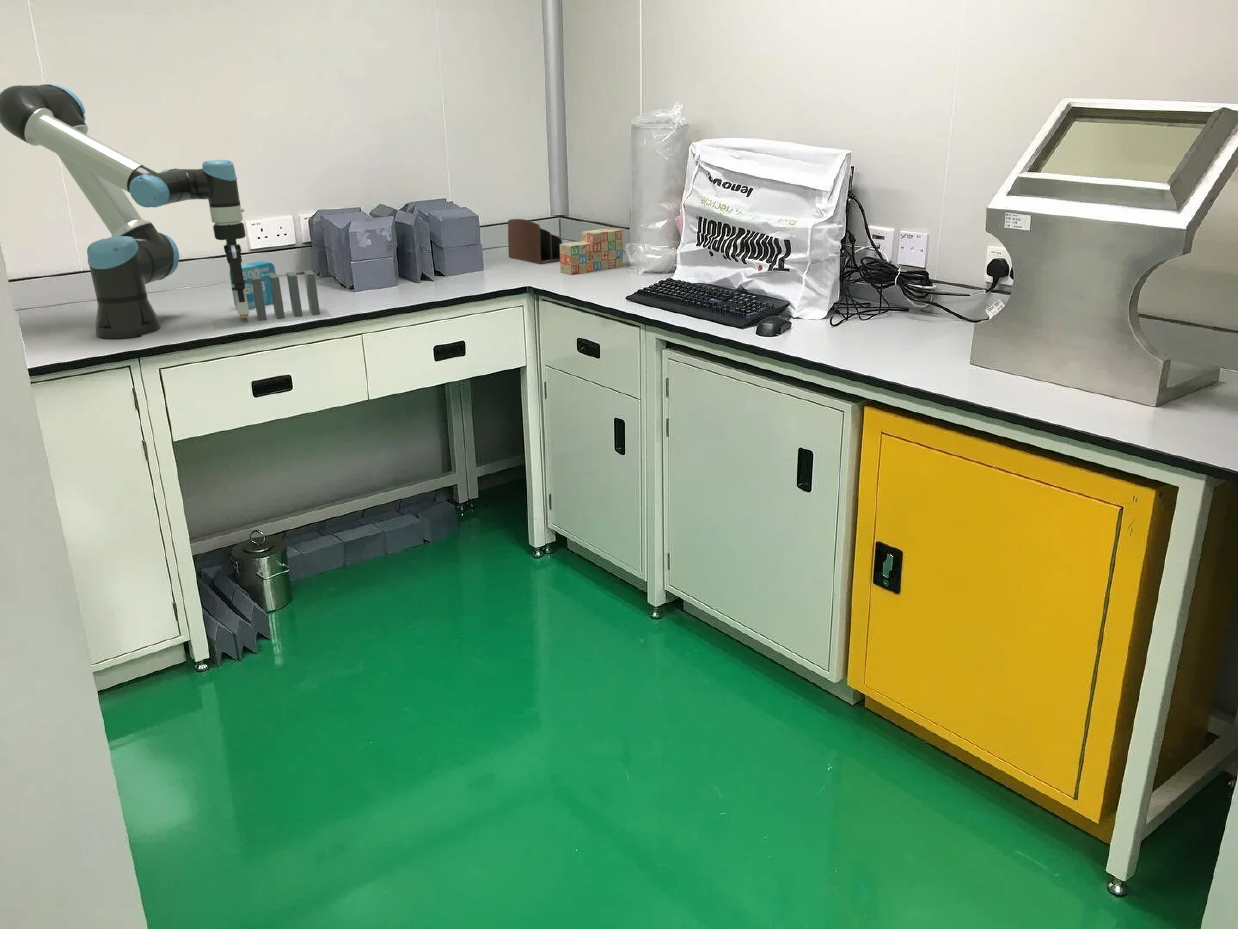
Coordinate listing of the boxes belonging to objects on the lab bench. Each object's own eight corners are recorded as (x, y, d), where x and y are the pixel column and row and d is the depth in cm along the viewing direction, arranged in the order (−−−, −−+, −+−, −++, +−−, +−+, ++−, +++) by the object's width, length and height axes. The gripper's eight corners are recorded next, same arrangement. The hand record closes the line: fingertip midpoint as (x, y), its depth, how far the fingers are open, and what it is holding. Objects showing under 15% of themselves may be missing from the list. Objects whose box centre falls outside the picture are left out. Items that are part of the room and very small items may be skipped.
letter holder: (539, 264, 334) (537, 222, 328) (508, 257, 348) (505, 217, 343) (563, 261, 339) (562, 219, 334) (531, 254, 354) (529, 214, 349)
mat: (213, 330, 254) (213, 329, 254) (211, 320, 264) (211, 319, 264) (332, 317, 265) (332, 316, 265) (325, 309, 275) (325, 307, 275)
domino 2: (259, 320, 261) (252, 279, 257) (257, 316, 267) (250, 275, 262) (266, 319, 262) (260, 278, 258) (264, 315, 267) (258, 274, 263)
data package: (245, 311, 274) (238, 268, 270) (235, 309, 277) (227, 267, 272) (280, 303, 284) (274, 261, 279) (270, 301, 286) (263, 260, 281)
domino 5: (312, 315, 266) (307, 274, 262) (309, 310, 272) (304, 270, 268) (320, 314, 267) (314, 273, 263) (317, 310, 272) (311, 270, 268)
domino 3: (277, 318, 263) (270, 277, 259) (274, 314, 268) (268, 274, 264) (284, 318, 264) (278, 277, 260) (282, 313, 269) (276, 273, 265)
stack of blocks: (571, 275, 315) (570, 236, 310) (560, 272, 319) (558, 234, 315) (623, 266, 327) (622, 229, 323) (611, 264, 332) (611, 227, 327)
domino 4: (294, 317, 265) (289, 276, 261) (292, 312, 270) (286, 272, 266) (302, 316, 266) (296, 275, 261) (299, 311, 271) (294, 271, 267)
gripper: (246, 226, 247) (260, 316, 255) (240, 217, 263) (254, 303, 271) (214, 228, 244) (230, 320, 252) (210, 219, 260) (225, 306, 269)
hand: (242, 311), depth 262 cm, fingers closed on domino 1, 6 cm apart
